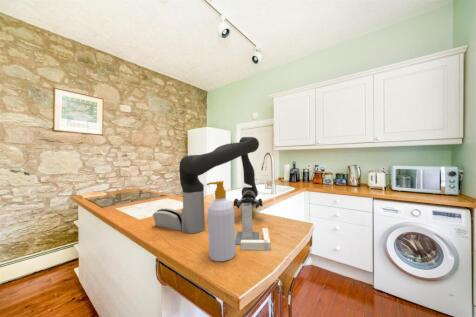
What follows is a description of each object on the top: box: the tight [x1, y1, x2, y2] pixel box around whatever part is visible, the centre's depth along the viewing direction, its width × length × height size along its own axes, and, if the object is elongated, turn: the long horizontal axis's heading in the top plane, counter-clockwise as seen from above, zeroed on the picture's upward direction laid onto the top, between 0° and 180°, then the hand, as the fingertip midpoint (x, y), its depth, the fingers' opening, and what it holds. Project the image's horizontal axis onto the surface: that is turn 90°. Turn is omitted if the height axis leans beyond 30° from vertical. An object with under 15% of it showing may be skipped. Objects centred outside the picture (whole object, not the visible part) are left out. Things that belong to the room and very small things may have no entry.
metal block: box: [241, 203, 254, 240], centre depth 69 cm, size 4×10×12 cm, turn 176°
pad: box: [235, 231, 260, 246], centre depth 69 cm, size 9×11×1 cm
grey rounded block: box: [152, 207, 182, 232], centre depth 83 cm, size 17×5×10 cm, turn 64°
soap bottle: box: [206, 180, 237, 262], centre depth 57 cm, size 9×9×24 cm
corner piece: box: [240, 227, 272, 251], centre depth 66 cm, size 10×12×2 cm
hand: (247, 206), depth 83 cm, fingers open, 8 cm apart
